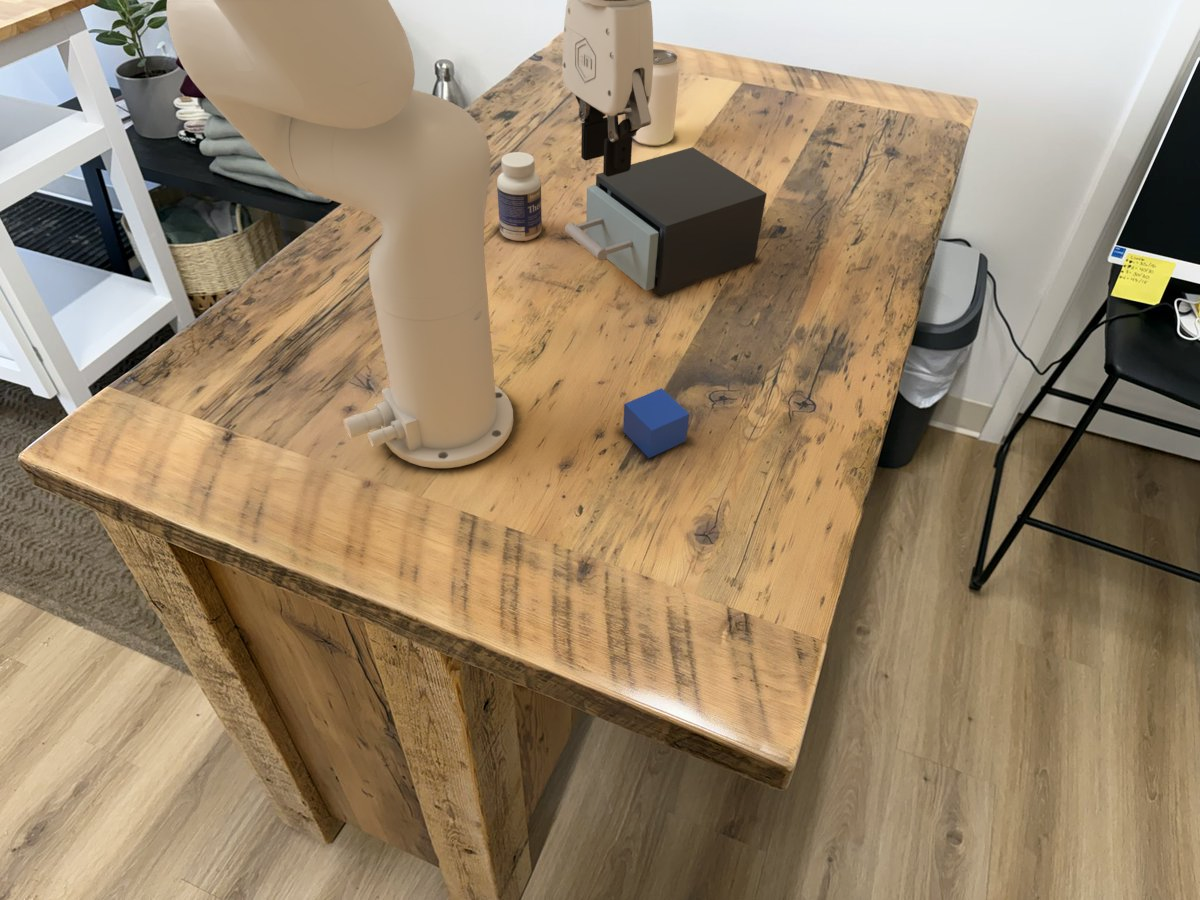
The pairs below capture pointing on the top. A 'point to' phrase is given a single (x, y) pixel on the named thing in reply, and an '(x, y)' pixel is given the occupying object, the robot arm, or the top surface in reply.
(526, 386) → the top surface
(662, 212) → the small storage cabinet
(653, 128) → the can
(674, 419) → the matte blue toy brick
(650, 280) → the drawer
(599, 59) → the robot arm
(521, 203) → the pill bottle
